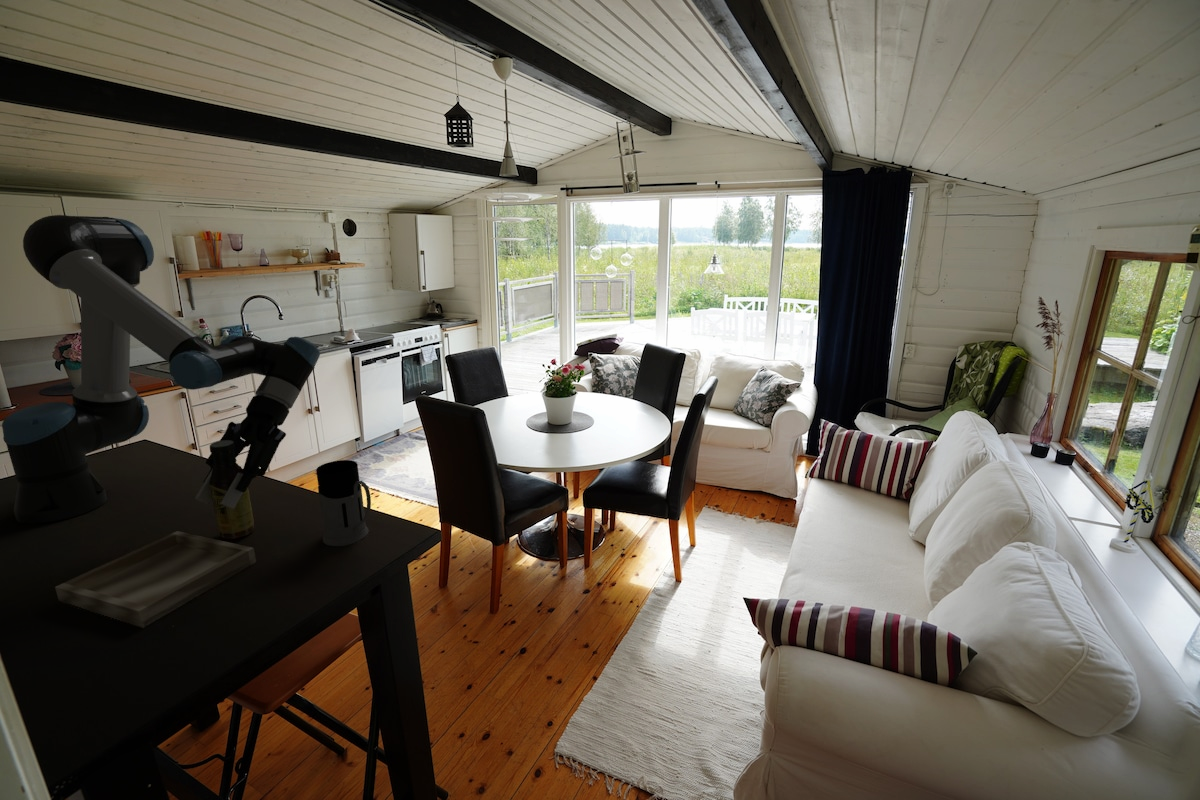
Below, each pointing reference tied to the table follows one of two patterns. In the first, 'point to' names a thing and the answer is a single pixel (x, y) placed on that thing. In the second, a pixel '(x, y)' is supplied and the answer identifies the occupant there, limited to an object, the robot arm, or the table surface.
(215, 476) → the sauce bottle
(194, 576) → the birch tray
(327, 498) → the glass holder
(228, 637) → the table surface
